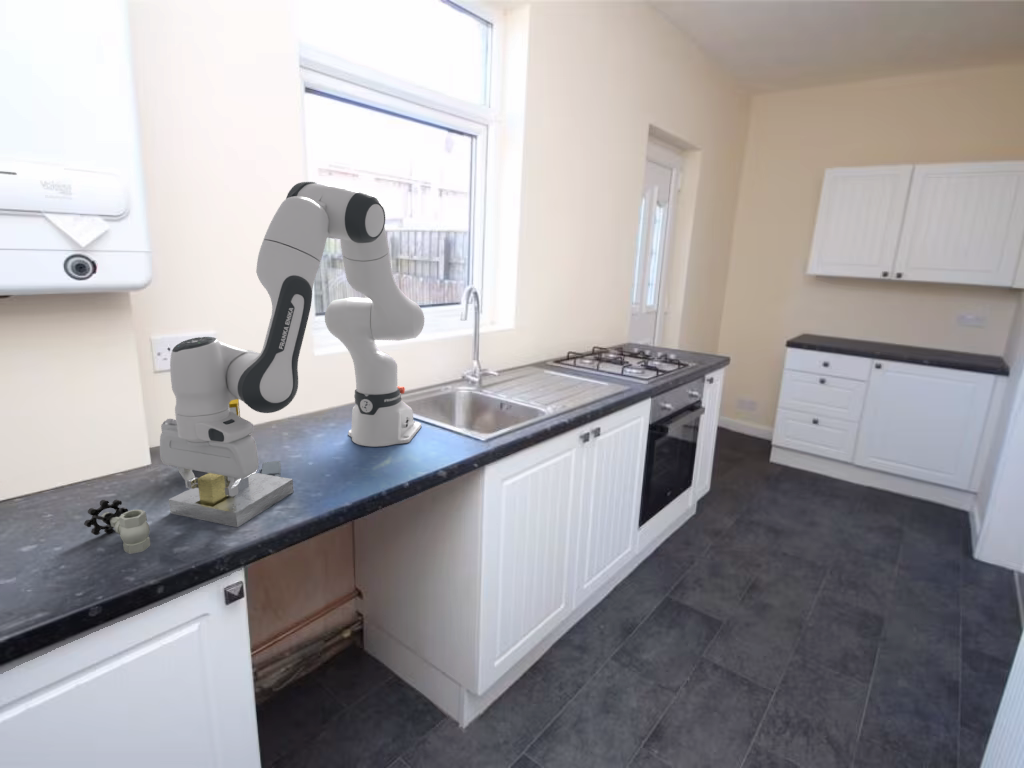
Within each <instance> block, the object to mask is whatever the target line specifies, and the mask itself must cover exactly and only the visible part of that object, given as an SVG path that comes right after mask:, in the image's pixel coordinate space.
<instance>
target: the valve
mask: <svg viewBox="0 0 1024 768" xmlns="http://www.w3.org/2000/svg"><path fill="white" fill-rule="evenodd" d="M122 503H123V502H122V501H121V500H119V499H114V500H113V501H112V502H111V504H110V501H109V500H107V499H101V500H100V501H99V505H100V507H98V508H95V507H90V508H89V509H88V510H87V514H88V515H90V516H91V518H90V519H86V520H85V521H84V522H83V525H84V526H85V527H87V528H91V527H92V526H93V528H92V529H91V531H90V532H91V534H93V535H95V536H98V535H100V534H101V532H100V531H103V530H104V531H103V532H104V533H105V534H106V535H110V534H113V533H114V532H115V533H116V534H118V535H119V537H120V539H121V540H122V545H123V546H122V547H123V551H124V552H126V553H127V554H129V555H132V554H136V553H141V552H144V551H145V550H147V549H148V548H149V547H150V546H151V545H152V544H151V538H150V536H149V535H150V531H151V529H150V525H149V523H148V522H147V520H148V518H147V513H146V511H145V510H143V509H132V510H129V509H128V508H127V507H124V506H122V507H119V506H121V505H122ZM106 509H113V510H114V511H115V512H114V513H113V512H112V511H111V512H108V511H107V512H103V513H102V511H105V510H106ZM100 513H102V515H100ZM98 520H99V521H101V522H102V523H104V524H105V525H99V524H98Z"/></svg>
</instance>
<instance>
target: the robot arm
mask: <svg viewBox="0 0 1024 768" xmlns="http://www.w3.org/2000/svg"><path fill="white" fill-rule="evenodd" d="M385 224H386V212H385V208H384V206H383V205H382V203H381V201H380V199H378V198H377V197H376V196H375V195H373V194H371V193H369V192H365V191H359V190H357V189H353V188H351V187H350V188H349V187H346V186H343V185H337V184H335V185H333V184H327V183H318V182H315V181H302V182H298V183H296V184H294V185H293V186H292V187H291V188H290V190H289V191H288V192H287V195H286V198H285V199H284V200H283V201H282V202H281V204H280V205H279V206H278V208H277V211H276V212H275V214H274V215H273V217H272V220H271V221H270V223H269V225H268V228H267V230H266V232H265V234H264V238H263V240H262V242H261V246H260V248H259V252H258V255H257V259H256V261H257V263H256V268H255V269H256V271H255V272H256V275H257V277H258V280H259V283H261V285H262V286H263V288H264V289H265V291H267V294H268V295H269V296H268V297H270V301H271V306H272V307H271V316H270V319H269V324H268V327H267V331H266V334H265V339H264V342H263V346H262V349H261V351H260V352H258V351H253V350H250V349H244V348H239V347H236V346H233V345H231V344H227V343H225V342H223V341H222V340H219V339H218V338H216V337H212V336H203V337H202V336H201V337H200V336H198V337H194V338H189V339H186V340H183V341H180V342H179V343H177V344H176V345H175V346H174V347H173V349H172V350H171V353H170V361H169V363H170V364H169V366H170V367H169V369H170V371H169V372H170V382H171V383H170V384H171V391H172V392H173V394H174V396H175V406H174V413H175V414H174V416H175V419H174V418H167V419H166V420H164V421H163V422H162V424H161V425H160V426H161V427H160V428H161V433H160V436H159V455H160V460H161V461H162V464H164V465H165V466H167V467H168V466H169V467H175V468H178V472H179V474H180V475H181V478H182V479H183V480H184V483H185V488H186V489H194V488H196V487H198V479H197V478H198V477H197V476H195V474H194V472H193V471H196V472H197V471H198V472H201V473H202V472H203V473H206V474H208V473H213V474H218V475H224V476H227V477H228V481H230V484H229V486H227V487H225V495H228V496H235V495H237V494H238V484H239V483H240V481H241V479H244V478H247V477H249V476H251V475H252V474H254V473H257V471H258V470H259V455H258V448H257V443H256V441H255V440H256V439H255V438H254V437H253V436H252V435H251V434H253V433H254V431H255V426H254V424H253V423H252V422H251V421H249V420H248V419H245V418H243V417H241V416H240V417H239V416H238V415H236V414H235V413H233V412H231V411H230V409H229V402H230V401H232V400H236V399H239V400H240V401H241V402H243V403H244V404H246V406H247V407H248V408H251V410H252V411H255V412H258V413H262V414H272V413H276V412H279V411H280V410H283V409H284V408H286V407H287V406H288V405H290V403H291V402H292V401H293V400H294V399H295V396H296V395H297V392H298V388H299V370H298V369H299V368H298V366H299V365H298V364H299V356H300V353H301V349H302V346H303V345H302V344H303V341H304V337H305V332H306V330H307V326H308V320H309V317H310V312H311V307H312V302H313V301H312V300H313V299H312V298H313V289H314V284H315V280H316V276H317V272H318V270H319V266H320V264H321V261H322V257H323V255H324V251H325V247H326V243H327V239H328V238H329V239H337V240H339V241H340V247H341V254H342V261H343V265H344V272H345V277H346V278H345V279H346V281H347V283H348V284H349V285H350V287H351V288H352V289H353V290H355V291H357V292H358V293H360V294H362V295H364V296H366V297H346V298H339V299H334V300H331V301H330V303H329V304H328V306H327V307H326V309H325V312H324V322H325V327H326V328H327V330H328V331H329V332H330V334H331V335H332V336H334V337H335V338H337V339H338V340H339V341H340V342H341V343H342V344H343V345H344V347H346V350H347V351H348V352H349V355H350V357H351V359H352V363H353V367H354V374H355V388H356V389H355V390H354V403H355V405H354V406H353V407H352V411H351V413H352V414H351V427H350V429H349V430H348V432H347V433H348V436H349V437H351V441H352V442H353V443H355V444H356V445H359V446H363V447H364V446H365V447H376V448H377V447H386V446H393V445H399V444H408V443H410V442H411V441H412V439H413V438H414V437H415V435H416V434H417V433H418V431H420V430H421V428H422V423H421V422H419V421H416V420H414V410H413V409H412V407H411V406H409V405H408V404H407V403H406V402H404V401H403V400H402V394H405V392H406V388H405V386H399V384H398V383H399V382H398V380H399V379H398V363H397V361H396V359H395V358H394V357H393V356H391V355H390V354H388V353H386V352H384V351H382V350H381V349H380V348H379V347H378V345H377V344H376V342H375V341H405V340H410V339H416V338H417V337H419V335H420V334H421V333H422V330H423V329H424V326H425V315H424V314H425V313H424V312H423V311H424V310H423V309H422V307H420V305H419V304H418V303H417V302H416V301H415V300H412V299H411V298H410V297H408V296H407V295H406V294H405V293H404V292H403V290H401V288H400V287H399V286H398V284H397V281H396V280H395V278H394V273H393V270H392V264H391V258H390V248H389V242H388V237H387V233H386V232H387V231H386V227H385Z"/></svg>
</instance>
